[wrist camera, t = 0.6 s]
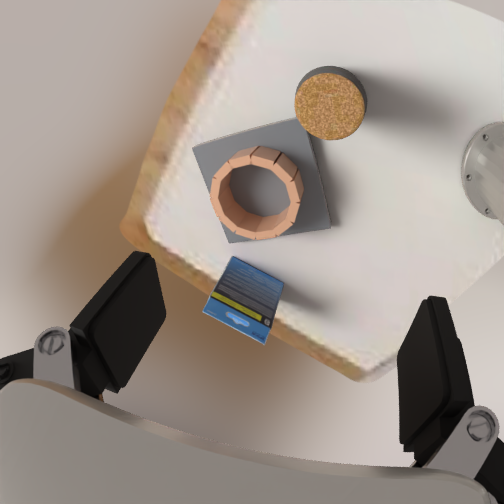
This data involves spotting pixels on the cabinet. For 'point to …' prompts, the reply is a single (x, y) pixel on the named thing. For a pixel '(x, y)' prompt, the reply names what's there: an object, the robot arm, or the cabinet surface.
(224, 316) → the label tape box
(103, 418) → the robot arm
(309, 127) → the bottle
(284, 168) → the holder
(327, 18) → the cabinet surface
